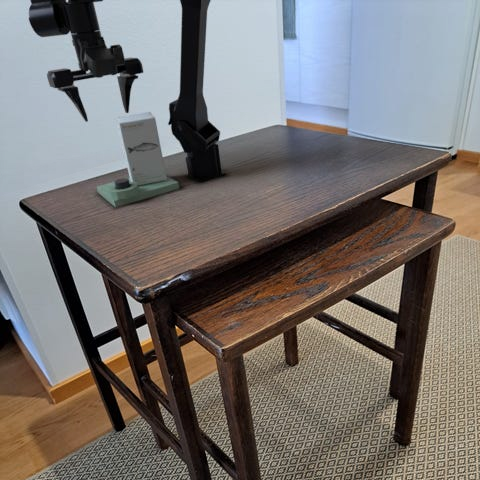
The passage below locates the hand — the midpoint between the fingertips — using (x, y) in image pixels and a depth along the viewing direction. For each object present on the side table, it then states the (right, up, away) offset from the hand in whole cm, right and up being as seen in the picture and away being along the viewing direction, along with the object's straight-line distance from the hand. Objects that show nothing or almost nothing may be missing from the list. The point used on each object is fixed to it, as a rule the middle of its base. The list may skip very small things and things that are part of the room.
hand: (107, 117), depth 98 cm
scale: (+7, -17, -2) cm, 18 cm away
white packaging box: (+9, -14, -1) cm, 17 cm away
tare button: (+6, -18, -8) cm, 21 cm away
